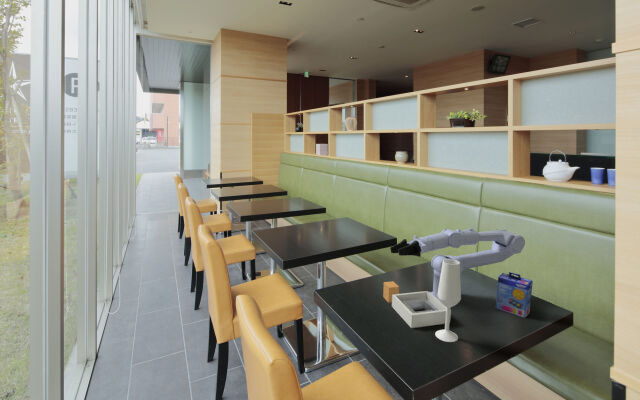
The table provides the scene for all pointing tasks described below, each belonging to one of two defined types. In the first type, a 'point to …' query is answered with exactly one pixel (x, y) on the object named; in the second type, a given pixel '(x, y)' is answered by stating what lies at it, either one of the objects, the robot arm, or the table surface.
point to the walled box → (419, 318)
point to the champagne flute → (449, 294)
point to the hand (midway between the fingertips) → (394, 251)
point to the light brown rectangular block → (390, 290)
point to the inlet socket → (419, 305)
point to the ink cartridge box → (514, 294)
